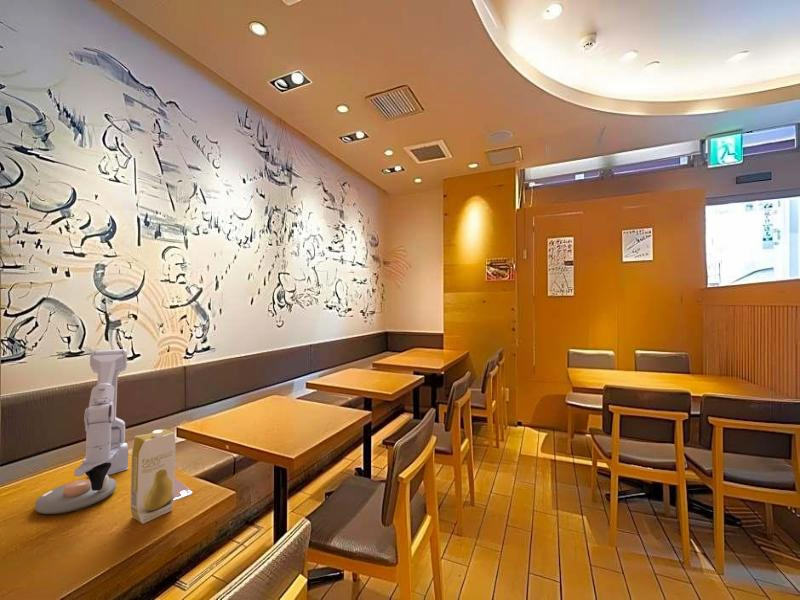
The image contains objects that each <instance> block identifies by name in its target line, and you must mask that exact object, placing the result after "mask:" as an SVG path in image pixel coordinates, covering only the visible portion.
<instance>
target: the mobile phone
mask: <svg viewBox="0 0 800 600" xmlns="http://www.w3.org/2000/svg"><path fill="white" fill-rule="evenodd" d="M192 494H193V491H192V490H191V489H190V488H189V487H188V486H187V485H185V484H184V483H183V482H182V481H181V479H178V478H177V477H175V483H174V501H173V502H176V501H178V500H181V499H183V498H186V496H187V497H188V496H191V495H192Z"/></svg>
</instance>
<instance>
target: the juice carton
mask: <svg viewBox="0 0 800 600" xmlns="http://www.w3.org/2000/svg"><path fill="white" fill-rule="evenodd" d="M175 435H176V434H175V432H174V431H171V430H167V429H165V428H162V429H155V430H153V431H151V433H145V434H140V435H135V436H134V438H133V443H132V447H131V448H132V449H131V470H130V471H131V473H130V476H131V477H130V513H131V516H132V518H133V519H134V520H137V522H139V523H141V524H143V525H144V524H145V523H148V522H150V521H153V520H155V519H157V518H158V517H161V516H163V515H165V514H168V513H169V512H171V511H172V510H173V507H174V502H175V501H174V483H175V478H176V475H175V474H176V471H175V470H176V436H175Z"/></svg>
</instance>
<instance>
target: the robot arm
mask: <svg viewBox="0 0 800 600" xmlns="http://www.w3.org/2000/svg"><path fill="white" fill-rule="evenodd" d="M127 363H128V350H127V349H126V348H121V349H120V348H118V349H101V350H100V349H97V350H96V349H93V350H92V351H90V356H89V365H90V369H91V370H92V371H93V373H95V374H97V381H96V383H97V384H96V385H95V386H93V387H92V389H91V392H90V397H89V403H88V407H86V408H85V410H84V416H83V417H84V419H83V420H84V422H83V423H84V428H85V432H86V435H85V436H86V438H85V439H86V441H85V458H84V459H82V460H81V464H80V465H79V466H78V467H76V468H75V469H74V470H73V477H74V478H75V477H83V476H84V475H86V476H87V477H88V478H87V479H90V482H91V488H92V491H95V490H101V489H102V487H103V481H104V479H105V476H106V475H108V476H110V475H114V474H117V473H121V472H124V471H127V470H129V445H128V443H127V442H125V440H126V422H125V421H124V420H123V419H121V418H119V417H117V402H118V401H117V400H118V399H117V397H118V378H119V375H120V373H121V372H123V371H126V368H127V365H128V364H127Z"/></svg>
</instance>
